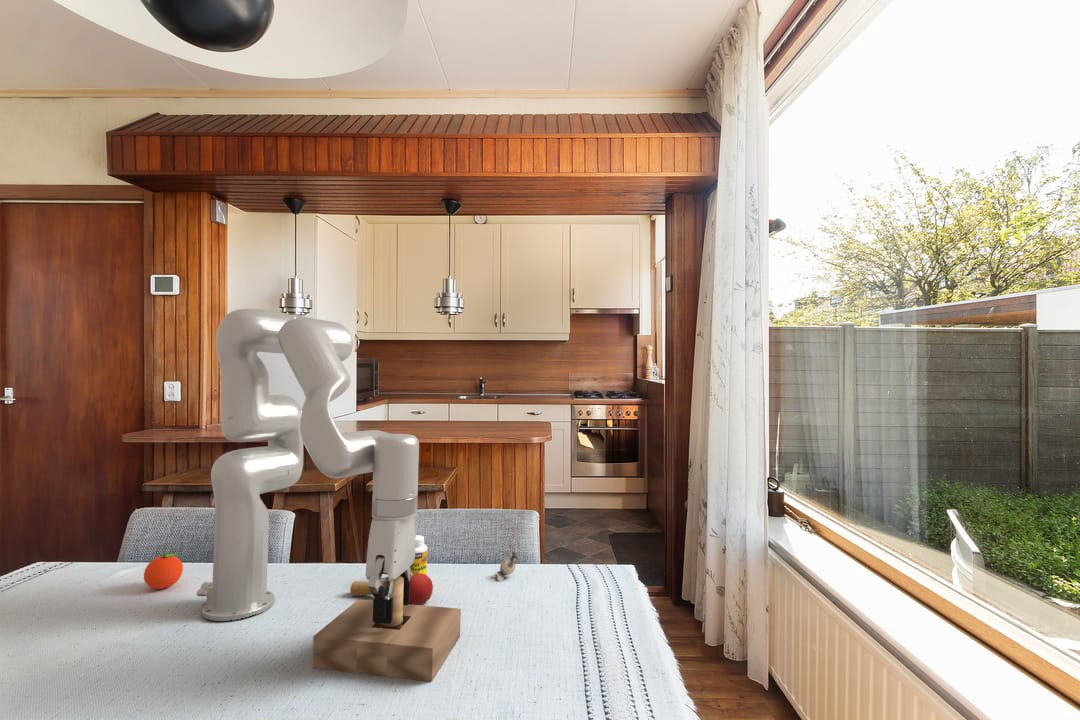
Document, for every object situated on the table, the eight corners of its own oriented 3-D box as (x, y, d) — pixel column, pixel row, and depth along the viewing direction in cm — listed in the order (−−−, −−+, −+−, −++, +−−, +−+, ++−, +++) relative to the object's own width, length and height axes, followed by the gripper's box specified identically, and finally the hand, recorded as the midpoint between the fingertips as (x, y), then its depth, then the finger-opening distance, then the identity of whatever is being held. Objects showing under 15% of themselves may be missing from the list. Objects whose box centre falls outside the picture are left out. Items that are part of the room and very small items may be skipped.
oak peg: (375, 656, 85) (377, 583, 86) (385, 644, 89) (387, 574, 90) (396, 658, 85) (398, 585, 85) (405, 647, 89) (407, 576, 89)
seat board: (312, 668, 82) (313, 636, 82) (356, 626, 95) (357, 599, 96) (431, 681, 78) (432, 648, 79) (460, 637, 92) (460, 608, 93)
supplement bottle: (409, 589, 113) (410, 542, 113) (396, 582, 117) (398, 537, 117) (431, 583, 117) (432, 537, 117) (418, 576, 121) (419, 532, 121)
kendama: (342, 611, 105) (423, 608, 101) (342, 578, 107) (422, 574, 103) (363, 603, 112) (439, 600, 109) (363, 572, 114) (438, 568, 110)
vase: (519, 573, 124) (520, 548, 124) (520, 583, 119) (521, 558, 118) (497, 573, 123) (497, 548, 123) (497, 583, 118) (498, 558, 118)
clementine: (172, 578, 117) (174, 546, 117) (194, 582, 115) (195, 550, 115) (134, 591, 109) (136, 557, 110) (157, 596, 107) (159, 562, 107)
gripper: (396, 494, 97) (393, 591, 96) (348, 518, 80) (344, 635, 79) (433, 496, 96) (431, 594, 95) (393, 521, 79) (390, 640, 78)
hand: (391, 612), depth 87 cm, fingers open, 6 cm apart
